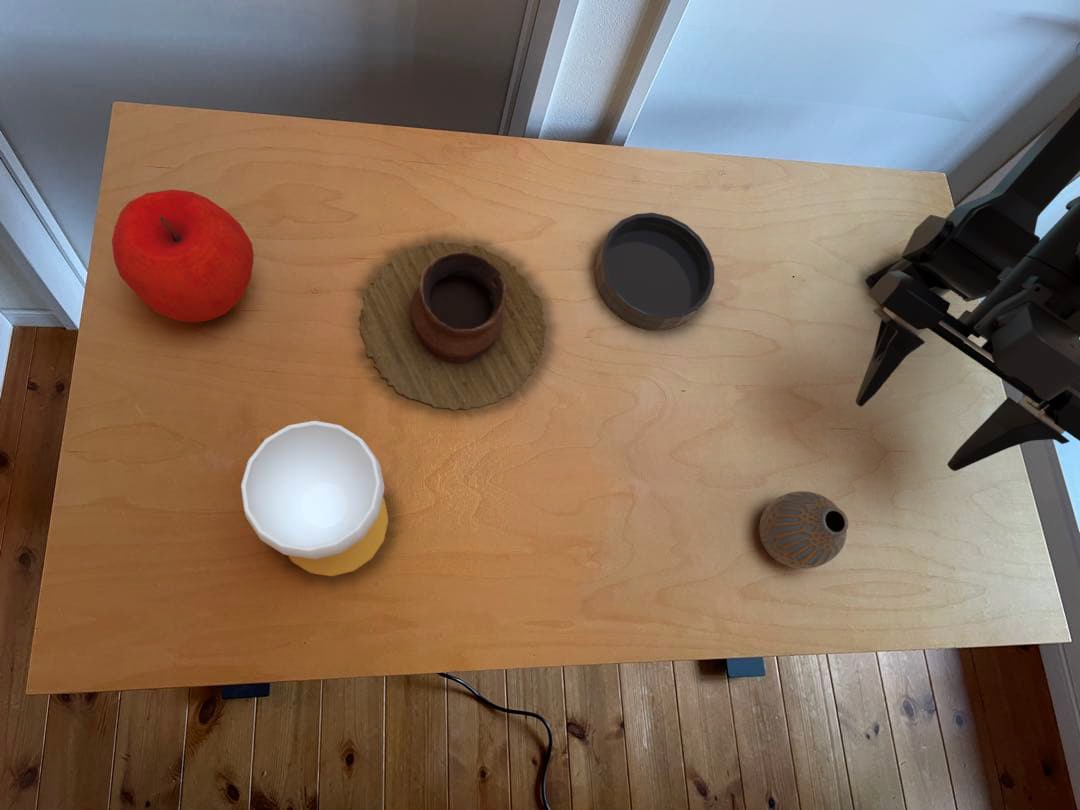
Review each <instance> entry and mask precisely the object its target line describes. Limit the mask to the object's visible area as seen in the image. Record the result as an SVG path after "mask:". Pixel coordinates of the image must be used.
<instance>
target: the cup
mask: <svg viewBox="0 0 1080 810" xmlns="http://www.w3.org/2000/svg"><path fill="white" fill-rule="evenodd" d="M240 488H241V489H240V490H241V496H242V497H241V498H242V503H243V511H244V515H245V518H246V520H247V521H248V523H249V524H250V526H251V527H252V529H253V530H254V532H255V534H256V535H257V537H258V538H259V540H260V541H262V542H263V543H264V544H266V545H268V546H269V547H271V548H273V549H274V550H276V551H277V552H279V553H281V554H282V555H284V556H287V557H288V558H289V560H290V561H291V562H292V563H293V564H295V565H297V566H298V567H300V568H301V569H302V570H304V571H307V572H308V573H309V574H314V575H321V576H327V577H335V576H339V575H344V574H348V573H352V572H355V571H357V570H358V569H359V568H360V567H362V566H364V565H365V564H366V563H368V562H369V561H372V559H373V558H374V556H375V555H376V553H377V552H378V550H379V549H380V547H381V546H382V545H383V543H384V541H385V539H386V533H387V528H388V526H389V525H388V524H389V515H388V510H387V505H386V501H385V500H386V499H385V498H384V495H385V494H384V493H385V489H386V487H385V482H384V477H383V472H382V467H381V463H380V461H379V460H378V458H377V457H376V455H375V454H374V453H373V451H372V450H371V448H370V447H369V446H368V444H367V442H365V441H364V439H363V438H362V437H360V436H358V435H357V434H355V433H354V432H352V431H350V430H348V429H347V428H345V427H344V426H342V425H340V424H335V423H330V422H324V421H319V420H310V421H304V422H300V423H294V424H288V425H286V426H285V427H283V428H281V429H280V430H278V431H276V432H274V433H273V434H271V435H270V436H267V437H265V439H264V440H262V442H261V443H260V445H259V446H258V447H257V449H256V450H255V451H254V452H253V454H251V456H250V457H249V458H248V460H247V463H246V466H245V470H244V473H243V477H242V480H241V483H240Z"/></svg>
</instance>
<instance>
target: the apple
mask: <svg viewBox="0 0 1080 810" xmlns="http://www.w3.org/2000/svg"><path fill="white" fill-rule="evenodd" d="M112 234H113V235H112V238H111V247H112V255H113V261H114V264H115V268H116V270H117V272H118V274H119V277H120V278H121V279H122V280H123V281H124V282H125V284H127V286H128V287H129V288H130V289H131V290H132V291H133V292H134V293H135V295H136V296H137V297H138V298H139V299H140V300H141V301H142V302H143V303H144V304H146V305H147V306H148V307H150V308H151V309H153V310H154V311H156V312H157V313H158V314H161V315H163V316H166V317H168V318H170V319H174V320H176V321H181V322H189V323H199V322H205V321H206V322H207V321H210V320H213V319H216V318H219V317H221V316H223V315H225V314H227V313H228V312H229V311H230V310H231V309H233V308H234V306H235V305H237V303H238V302H239V301H240V300H241V299H242V297H243V295H244V293H245V292H246V289H247V287H248V285H249V283H250V280H251V279H252V273H253V267H254V249H253V247H254V246H253V243H252V241H251V239H250V238H249V236H248V234H247V233H246V231H245V230H244V227H243V226H242V224H241V223H240V222H239V221H238V220H236V219H235V218H234V216H232V214H230V212H227V210H226V209H224V208H222V207H221V206H219V205H218V204H217V203H216V202H214V201H212V200H211V199H209V198H208V197H206V196H204V195H200V194H198V193H196V192H193V191H188V190H180V189H166V190H159V191H153V192H152V191H151V192H146V193H144V194H142V195H140V196H138V197H136V198H134V199H132V200H130V201H129V202H127V204H125V206H124V207H123V208H122V209H121V210H120V212H119V215H118V217H117V220H116V223H115V225H114V228H113V233H112Z"/></svg>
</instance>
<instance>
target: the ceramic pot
mask: <svg viewBox="0 0 1080 810" xmlns="http://www.w3.org/2000/svg"><path fill="white" fill-rule="evenodd" d="M373 279H374V280H371V281H370V283H371V284H373V287H370V288H368V289H366V290H365V292H364V294H363V301H364V304H363V307H362V308H361V309H360V314H359V316H358V319H360V334H361V336H362V340H363V342H364V343H365V345H366V356H367V357H368V358H372V359H373V361H374V362H375V364H374V365H373V366H374V368H375V369H377V370H378V371H379V373H380V378H383V379H385V380H387V382H388V383H387V384H388V386H393V388H394V389H395V392H396V393H398V394H399V395H403V396H404V397H406V398H407V399H411V400H415V401H419V402H421V403H424V404H427V405H431V406H432V407H433V408H441V409H450V410H452V411H457V410H460V409H463V410H469V409H471V408H480V407H485V406H487V405H490V404H494V403H497V402H500V401H501V400H502V399H503V398H506V397H510V396H512V395H514V392H516V391H517V390H520V389H521V388H523V386H524V385H525V382H526V381H528V379H527V378H528V376H531V375H533V374H534V368H535V367H536V366H538V364H539V359H540V358H541V357H542V355H543V354H542V349H545V335H546V330H547V326H548V325H546V324H545V319H544V317H543V316H544V311H543V303H542V301H541V299H540V296H538V295H537V294H536V291H535V290H534V288H532V287H531V285H530V284H529V281H528V279H527V278H526V277H525V276H523V275H521V274H520V273H518V272H517V266H515V265H512V264H511V262H510V261H508V260H506V259H504V258H503V257H502V255H499V254H495V253H493V252H490V251H487V250H486V249H485V247H483V246H479V245H477V244H476V245H475V244H474V245H465V244H463V243H459V242H447V243H445V242H443V241H441V242H439V241H438V242H428V244H423V245H418V246H417V245H416V246H414V248H412V249H408V250H403V252H402V253H401V254H400V255H395V256H393V257H392V259H391V260H390V262H389V263H387V264H386V265H385V266H384V267H382V268H380V269H379V270H378V274H376V275H375V276H374V278H373Z"/></svg>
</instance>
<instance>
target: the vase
mask: <svg viewBox="0 0 1080 810" xmlns="http://www.w3.org/2000/svg"><path fill="white" fill-rule="evenodd" d="M848 528H849V520H848V517H847V515H846V513H845V512H844V511H843V510H841V509H840V508H839V507H838V506H837V504H836V503H835V502H833V501H832V500H831V499H830V498H828V497H826V496H824V495H822V494H820V493H816V492H813V491H806V490H805V491H803V490H802V491H801V490H800V491H793V492H789V493H785V494H783V495H780V496H779V497H776V498H775V499H774V500H773V501H771V502H770V503H769V504H768V505H767V507H766V508H765V509H764V511H763V512H762V515H761V517H760V520H759V524H758V532H759V533H758V534H759V538H760V541H761V543H762V544H761V545H762V546H763V547H764V549H765V551H766V552H767V554H768V555H769V556H771V558H773V559H774V560H775V561H776V562H778V563H780V564H782V565H785V566H787V567H789V568H795V569H814V568H818V567H820V566H823V565H826V564H827V563H829V562H831V561H832V560H833V559H834V558H836V557H837V556H838V554H839V553H840V552H841V551H842V550H843V548H844V546H845V543H846V539H847V536H848V535H847V534H848Z"/></svg>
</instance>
